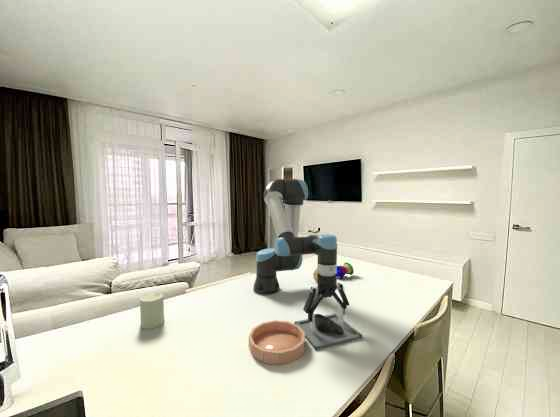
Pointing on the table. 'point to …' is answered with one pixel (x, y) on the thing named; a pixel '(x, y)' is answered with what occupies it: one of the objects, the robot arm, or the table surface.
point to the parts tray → (328, 333)
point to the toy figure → (344, 270)
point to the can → (152, 310)
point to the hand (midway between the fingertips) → (326, 325)
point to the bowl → (277, 342)
